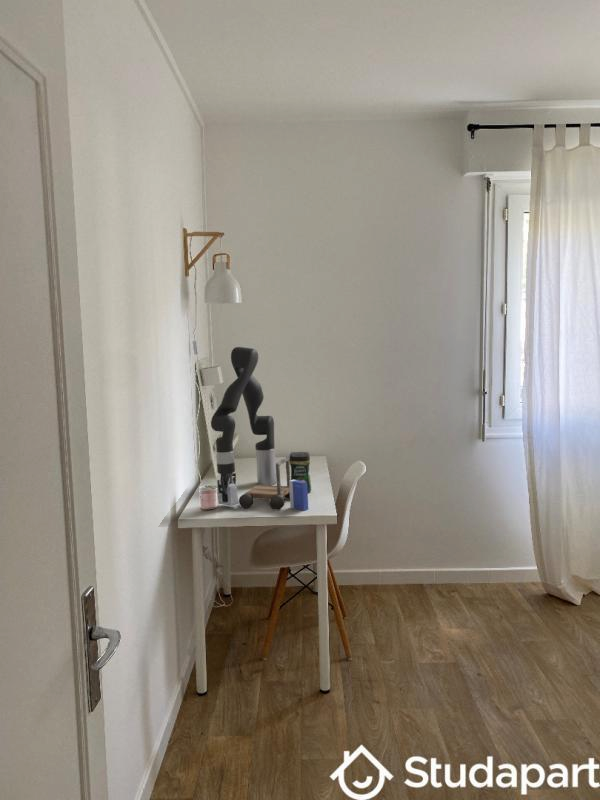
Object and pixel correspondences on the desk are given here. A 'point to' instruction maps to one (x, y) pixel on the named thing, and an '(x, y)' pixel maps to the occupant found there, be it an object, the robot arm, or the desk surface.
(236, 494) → the medicine box
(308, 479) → the coffee jar
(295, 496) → the walkman
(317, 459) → the desk surface
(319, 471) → the desk surface
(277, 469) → the trolley
